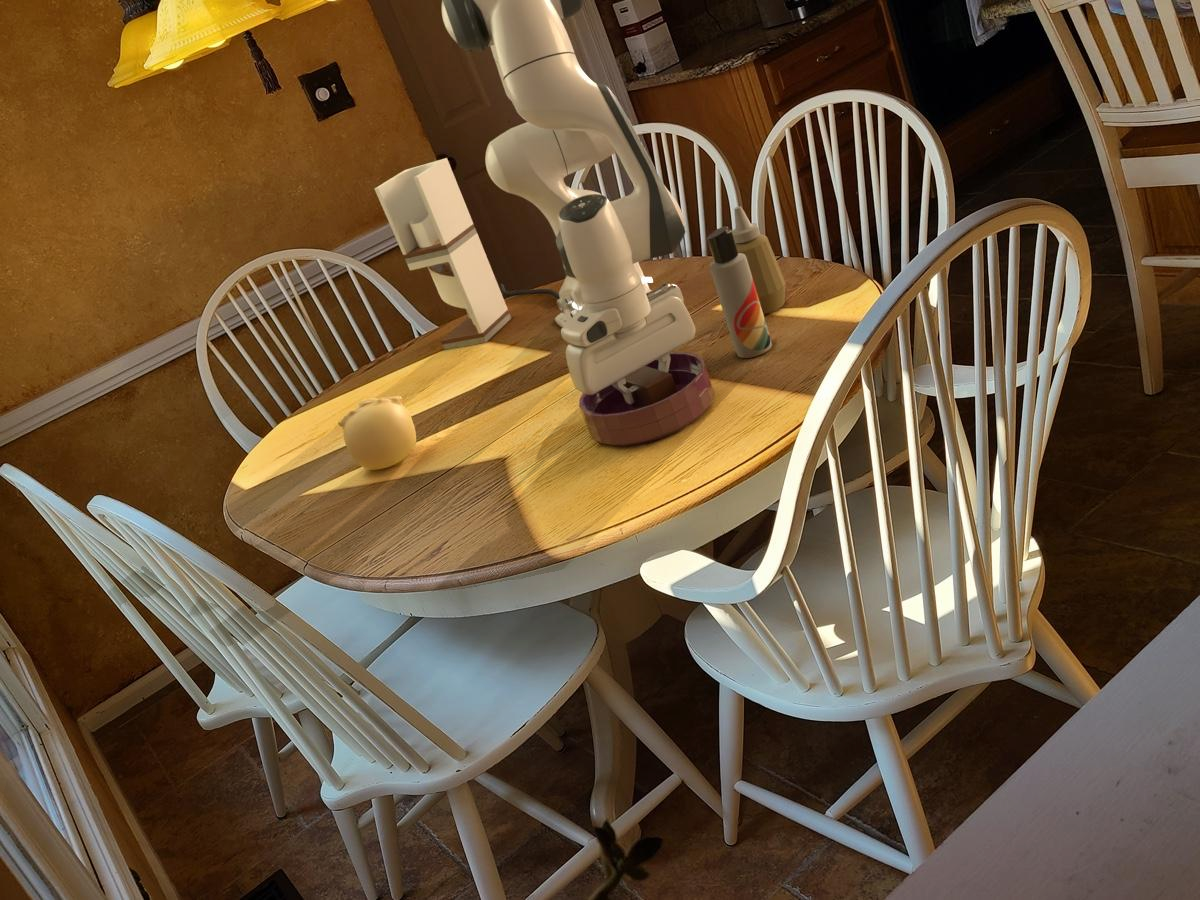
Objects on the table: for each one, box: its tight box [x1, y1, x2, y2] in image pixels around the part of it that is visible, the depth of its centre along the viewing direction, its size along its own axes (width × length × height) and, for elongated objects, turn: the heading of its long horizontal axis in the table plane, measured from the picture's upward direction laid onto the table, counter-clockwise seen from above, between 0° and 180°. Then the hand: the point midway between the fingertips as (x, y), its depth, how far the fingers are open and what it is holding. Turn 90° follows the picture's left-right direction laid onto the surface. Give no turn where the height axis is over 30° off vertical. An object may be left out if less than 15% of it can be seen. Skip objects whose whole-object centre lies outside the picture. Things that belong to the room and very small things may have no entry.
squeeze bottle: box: [731, 205, 786, 315], centre depth 183 cm, size 8×8×18 cm
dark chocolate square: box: [622, 366, 677, 408], centre depth 165 cm, size 9×4×5 cm, turn 29°
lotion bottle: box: [706, 225, 772, 359], centre depth 169 cm, size 6×6×20 cm
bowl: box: [578, 351, 715, 447], centre depth 163 cm, size 19×19×6 cm
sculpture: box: [337, 395, 417, 471], centre depth 182 cm, size 11×12×11 cm
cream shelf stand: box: [374, 157, 512, 351], centre depth 224 cm, size 11×11×35 cm
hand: (648, 392), depth 165 cm, fingers closed on dark chocolate square, 4 cm apart
